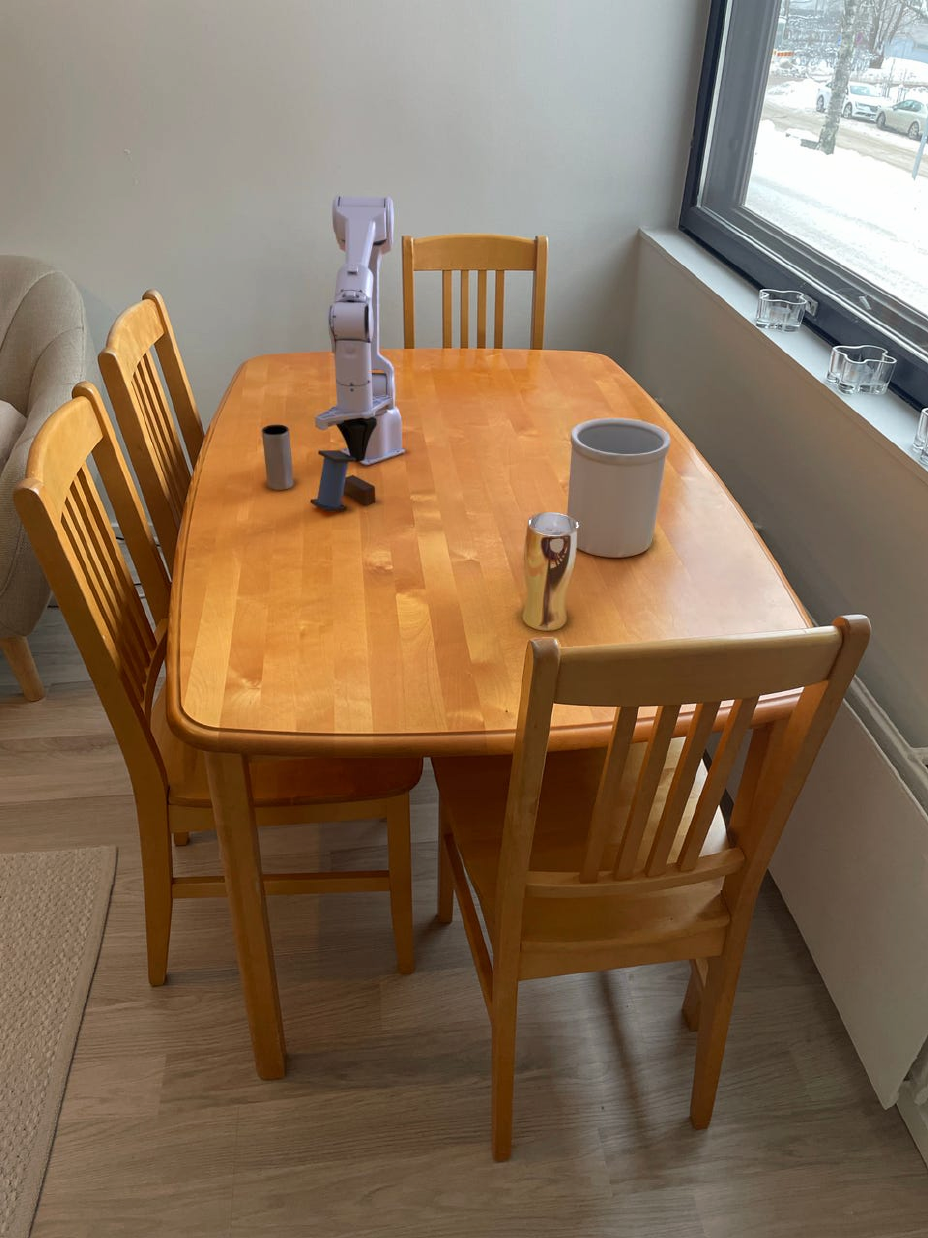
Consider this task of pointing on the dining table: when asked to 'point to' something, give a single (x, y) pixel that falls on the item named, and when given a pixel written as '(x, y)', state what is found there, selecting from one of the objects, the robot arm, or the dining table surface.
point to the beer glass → (549, 568)
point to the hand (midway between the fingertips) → (357, 459)
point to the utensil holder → (616, 484)
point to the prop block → (359, 490)
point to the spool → (332, 480)
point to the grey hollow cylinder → (278, 457)
